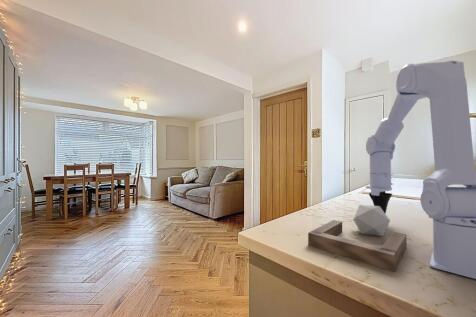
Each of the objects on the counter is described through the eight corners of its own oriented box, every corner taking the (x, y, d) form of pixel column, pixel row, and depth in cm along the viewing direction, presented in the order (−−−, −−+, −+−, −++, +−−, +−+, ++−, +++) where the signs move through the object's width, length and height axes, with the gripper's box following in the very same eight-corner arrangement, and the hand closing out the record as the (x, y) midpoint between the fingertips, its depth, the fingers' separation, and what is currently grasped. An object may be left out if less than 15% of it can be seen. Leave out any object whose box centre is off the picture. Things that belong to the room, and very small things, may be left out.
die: (386, 233, 60) (364, 204, 65) (404, 227, 53) (378, 194, 58) (362, 244, 59) (342, 214, 64) (377, 239, 52) (353, 205, 57)
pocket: (406, 246, 49) (406, 234, 49) (394, 271, 38) (393, 255, 38) (333, 230, 61) (333, 219, 61) (308, 244, 50) (308, 232, 50)
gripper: (371, 172, 75) (372, 209, 75) (359, 174, 65) (360, 216, 65) (395, 173, 70) (396, 212, 70) (386, 175, 60) (387, 221, 60)
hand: (380, 215), depth 67 cm, fingers closed
